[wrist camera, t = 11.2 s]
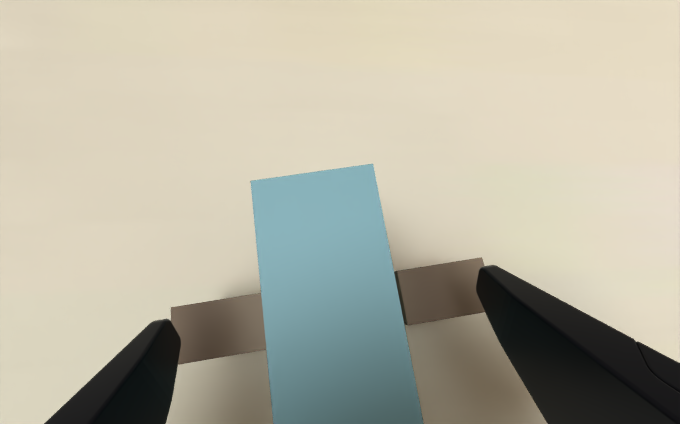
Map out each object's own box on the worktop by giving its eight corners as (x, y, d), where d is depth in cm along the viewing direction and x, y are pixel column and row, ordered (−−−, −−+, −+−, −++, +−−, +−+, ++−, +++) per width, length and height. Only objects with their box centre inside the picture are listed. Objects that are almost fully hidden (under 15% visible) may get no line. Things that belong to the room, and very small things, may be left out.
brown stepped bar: (439, 266, 17) (481, 257, 12) (448, 303, 16) (495, 310, 12) (219, 301, 16) (170, 307, 11) (222, 341, 16) (172, 365, 11)
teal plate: (374, 367, 16) (438, 498, 6) (315, 378, 16) (283, 529, 6) (351, 233, 17) (372, 163, 8) (298, 241, 17) (250, 181, 7)
